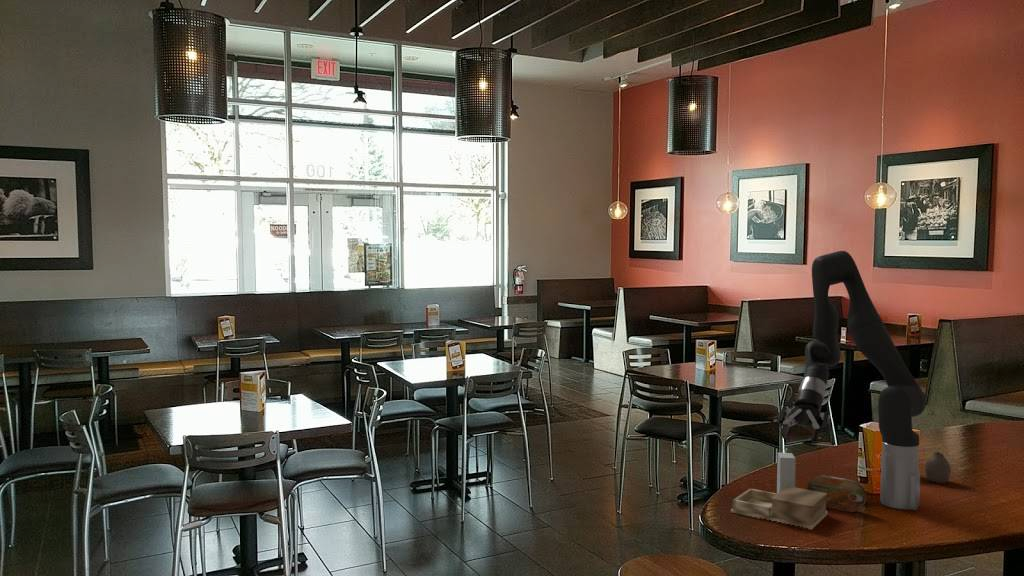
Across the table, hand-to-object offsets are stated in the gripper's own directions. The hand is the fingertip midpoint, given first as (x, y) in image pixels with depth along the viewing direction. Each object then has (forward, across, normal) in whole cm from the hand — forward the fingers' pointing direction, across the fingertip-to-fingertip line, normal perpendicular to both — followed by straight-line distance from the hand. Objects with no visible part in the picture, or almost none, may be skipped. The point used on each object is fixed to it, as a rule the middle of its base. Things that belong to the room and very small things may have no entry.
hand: (798, 439), depth 225 cm
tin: (+18, +14, +2) cm, 23 cm away
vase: (-12, +32, +32) cm, 47 cm away
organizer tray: (+28, +3, -8) cm, 30 cm away
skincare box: (+18, 0, +3) cm, 18 cm away
